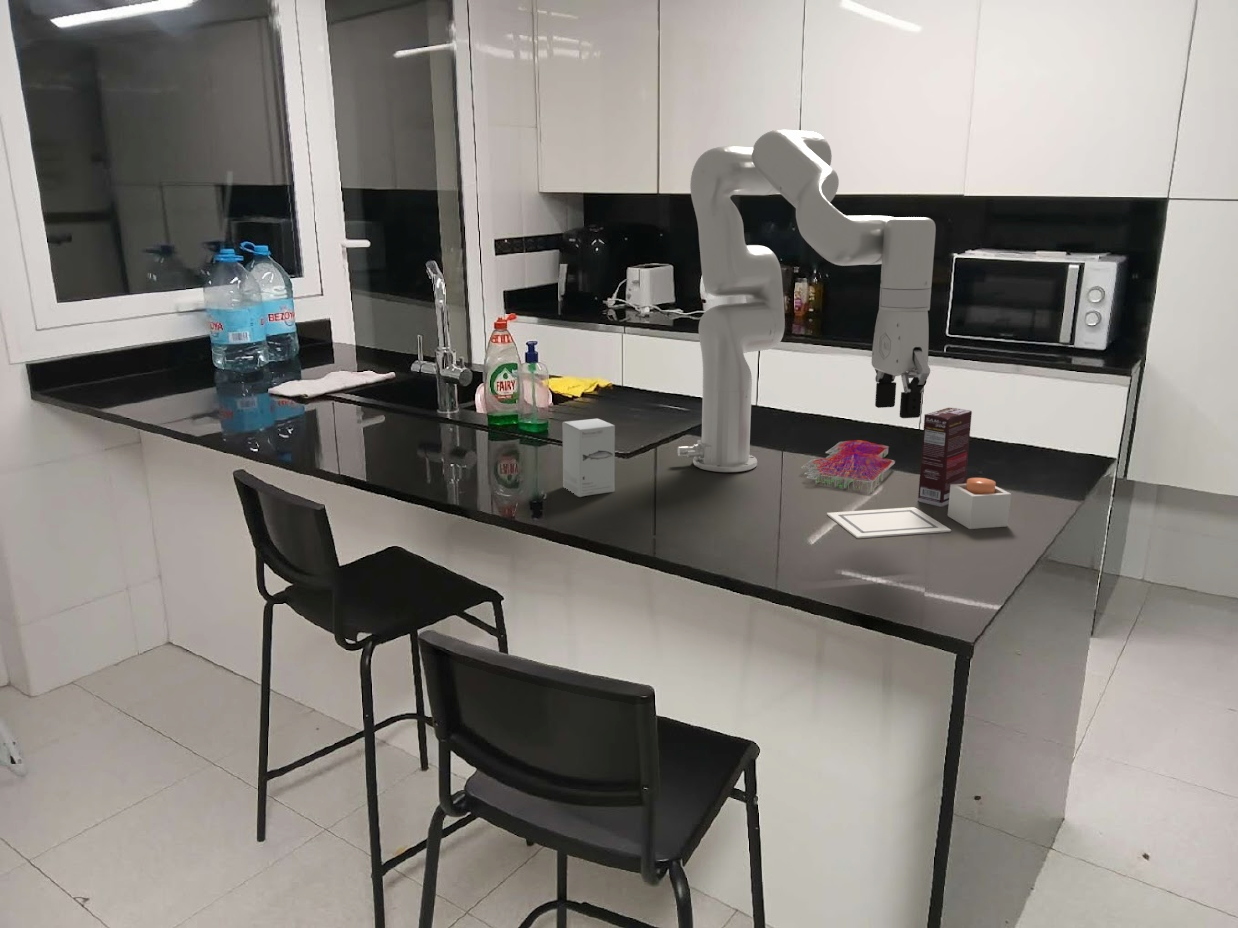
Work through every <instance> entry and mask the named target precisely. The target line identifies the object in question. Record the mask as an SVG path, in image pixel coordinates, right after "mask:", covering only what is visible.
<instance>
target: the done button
mask: <svg viewBox="0 0 1238 928" xmlns="http://www.w3.org/2000/svg"><path fill="white" fill-rule="evenodd" d="M966 483H967V485H966V490H967V491H969V492H971V493H972V494H974V495H977V494H993V493H995V486H996V483H997V482H996V481H995V480H994V479H989V478H986V477H970V478H966Z"/></svg>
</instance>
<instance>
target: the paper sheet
mask: <svg viewBox="0 0 1238 928" xmlns="http://www.w3.org/2000/svg"><path fill="white" fill-rule="evenodd" d="M826 515H827V516H828V517H829V518H831V519H832V520H833V521H834V522H835V523H837V524H838V525H839V526H841V528H843V529H845V530H846V531H847V532H848V533H850V534H851V535H852V536H853V537H854V538H856V539H867V538H881V537H895V536H896V537H897V536H908V535H909V536H910V535H911V536H912V535H922V534H923V535H924V534H925V535H926V534H938V533H939V534H940V533H951V532H952V529H950V528H949V527H947V526H946V525H944V524H942V523H941V522H939V521H937V520H936V519H935V518H932V516H930V515H928V514H926V513H925V512H923V511H922V510H920V509H918V508H916V507H914V506H913V507H912V506H911V507H909V506H908V507H897V508H896V507H895V508H883V509H882V508H880V509H867V510H866V509H865V510H851V511H850V510H849V511H838V512H837V511H836V512H826Z"/></svg>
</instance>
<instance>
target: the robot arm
mask: <svg viewBox="0 0 1238 928" xmlns="http://www.w3.org/2000/svg"><path fill="white" fill-rule="evenodd" d="M831 165H832V150H831V146H830V144H829V143H828V141H827V140H826V138H825V137H824V136H822V135H821V134H820V133H817V132H814V131H809V130H793V129H774V130H771V131H767V132H765V133H763V134H762V135H761V136H760V137H759V138H758V139H757V140H756V141H755V143H754V145H753V146H752V147H751V146H736V145H735V146H734V145H731V146H729V145H728V146H718V147H713V148H710V149H708V150H706V151H705V152H704V151H703V153H702V154H701V155H700V156H699V157H698V159H697V160H696V162H695V163H694V166H693V169H692V172H691V175H690V187H689V188H690V195H691V196H690V197H691V202H692V205H693V208H694V209H693V210H694V212H695V217H696V222H697V228H698V244H699V252H700V253H699V254H700V266H701V267H700V268H701V276H702V282H703V283H702V284H703V286H704V290H705V291H706V292H707V293H708V294H709V295H711V296H715V297H720V298H721V297H725V298H726V297H742V296H743V297H744V296H745V302H737V303H736V302H735V303H724V304H718V305H715V306H712V307H710V308H708V309H707V310H706V311H705V312H703V314H702V315H701V318H700V320H699V323H698V339H699V344H700V350H701V358H702V361H701V362H702V401H701V402H702V406H701V407H702V408H701V409H702V410H701V439H697V440H696V442H697V443H694V444H693V445H692V446H687V445H684V446H683V445H681V446H677V456H678V457H683V456H685V457H686V456H687V458H693V459H692V460H693V461H692V462H693V465H694V466H695V467H697V468H699V469H701V470H703V471H704V470H705V471H708V472H709V471H710V472H715V473H716V472H717V473H739V472H745V471H750V470H752V469H755V467H757V466H758V459H757V458H756V456H754V455H752V454H750V444H751V443H750V441H751V420H752V419H751V416H752V392H753V391H752V389H753V388H752V387H753V386H752V385H753V377H752V371H751V369H750V366H749V364H748V361H747V359H746V357H745V355H744V354H745V353H746V354H747V353H750V352H752V353H753V352H760V351H761V352H762V351H768V350H771V349H773V348H775V347H777V346H778V345H779V343H781V341H782V339H783V337H784V335H785V334H784V333H785V328H786V327H785V326H786V325H785V323H786V321H785V317H786V316H785V305H784V291H783V290H784V289H783V287H784V286H783V276H782V275H783V274H782V268H781V264H780V262H779V260H778V257H777V255H776V254H775V253H774V251H772V250H771V249H770V248H769V247H767V246H764V245H759V244H748V245H747V244H746V241H745V233H744V231H745V230H744V229H745V228H744V222H743V219H742V218H743V217H742V215H741V213H740V211H739V209H738V207H737V206H736V205H735V203H734V202H733V200H732V199H731V197H732V196H736V195H737V196H769V195H776V194H780V195H781V196H782V197H783V198H784V199H785V200H786V201H787V202H788V203H789V204H791V205H792V206H793V207H794V208H795V219H796V224H797V228H798V230H799V233H800V235H801V237H802V239H804V241H805V242H806V243H807V244H808V245H809V246H811V248H812V249H814V251H815V252H816V253H817V254H818V255H819V256H821V257H822V258H824V259H825V260H826V261H828V262H830V263H831V264H834V265H836V266H842V267H843V266H844V267H845V266H847V267H848V266H859V265H860V266H861V265H867V266H870V265H881V270H880V271H881V272H880V283H879V284H880V286H879V287H880V288H879V304H878V305H879V306H878V312H877V316H876V322H875V326H874V332H873V342H872V352H871V365H872V368H874V370H875V374H876V375H875V379H874V380H875V383H876V385H875V386H876V387H875V403H874V405H875V407H876V408H879V409H880V408H881V409H882V408H884V409H885V408H894V407H895V405H896V395H897V394H896V391H897V382H896V381H895V379H896V377H899V376H900V377H901V382H902V387H903V391H901V392H900V404H899V417H900V418H901V419H914V418H915V419H916V418H917V419H918V418H920V417H921V412H922V411H921V409H922V400H923V392H924V391H925V385H926V383H927V382H928V381H927V380H928V378H929V375H930V374H931V368H930V366H929V364H928V358H929V329H930V328H929V313H928V311H930V309H931V295H932V283H933V270H934V257H935V247H936V246H935V245H936V231H937V229H936V223H935V221H934V220H933V219H931V218H930V217H924V216H923V217H921V216H920V217H919V216H918V217H917V216H916V217H915V216H913V217H912V216H911V217H910V216H908V217H907V216H906V217H900V216H899V217H894V216H890V215H889V216H888V215H846V214H843V212H841V211H840V210H839V209H837V207H835V206H834V205H833V204H832V203H831V202H833V200H834V198H835V197H836V194H837V192H838V188H839V182H840V181H839V176H838V174H837V172H836V171H835V170H834V169H833V168H832V167H831ZM910 379H911V381H910Z"/></svg>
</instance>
